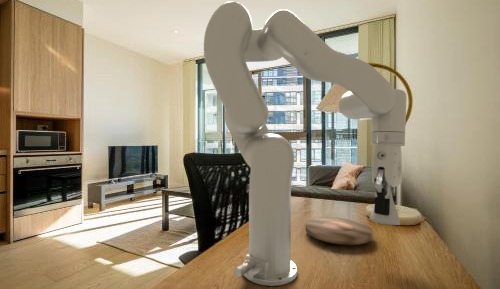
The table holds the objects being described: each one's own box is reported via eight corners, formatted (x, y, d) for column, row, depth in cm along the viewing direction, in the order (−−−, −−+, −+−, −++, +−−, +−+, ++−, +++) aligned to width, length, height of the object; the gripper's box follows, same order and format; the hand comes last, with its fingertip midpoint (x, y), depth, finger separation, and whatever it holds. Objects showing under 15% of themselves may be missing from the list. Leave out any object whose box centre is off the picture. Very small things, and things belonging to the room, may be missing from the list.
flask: (406, 227, 59) (407, 184, 59) (372, 224, 60) (374, 182, 61) (395, 218, 66) (396, 180, 66) (365, 216, 68) (366, 179, 68)
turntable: (359, 251, 66) (359, 243, 66) (293, 232, 79) (293, 226, 79) (380, 231, 81) (380, 225, 81) (321, 218, 94) (321, 213, 94)
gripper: (397, 138, 54) (393, 222, 54) (411, 141, 67) (408, 209, 67) (360, 138, 59) (357, 215, 59) (380, 140, 72) (377, 204, 72)
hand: (384, 211), depth 63 cm, fingers closed on flask, 5 cm apart
